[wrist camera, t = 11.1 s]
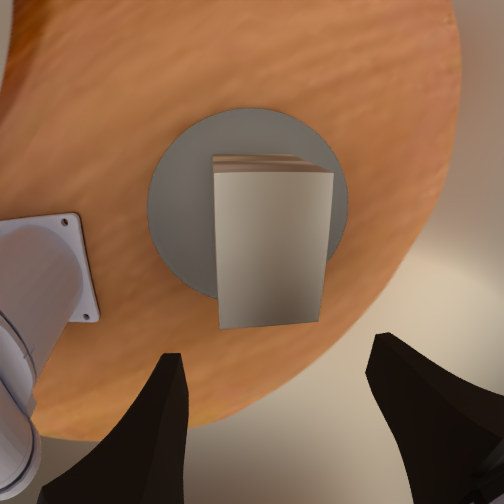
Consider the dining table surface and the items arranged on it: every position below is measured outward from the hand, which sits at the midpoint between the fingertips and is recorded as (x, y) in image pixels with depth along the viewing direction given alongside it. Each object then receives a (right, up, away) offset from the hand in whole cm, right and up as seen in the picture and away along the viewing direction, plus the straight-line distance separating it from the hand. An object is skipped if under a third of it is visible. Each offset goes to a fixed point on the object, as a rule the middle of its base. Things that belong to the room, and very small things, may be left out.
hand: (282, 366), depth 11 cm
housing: (-1, +6, +6) cm, 9 cm away
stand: (-1, +7, +8) cm, 11 cm away
